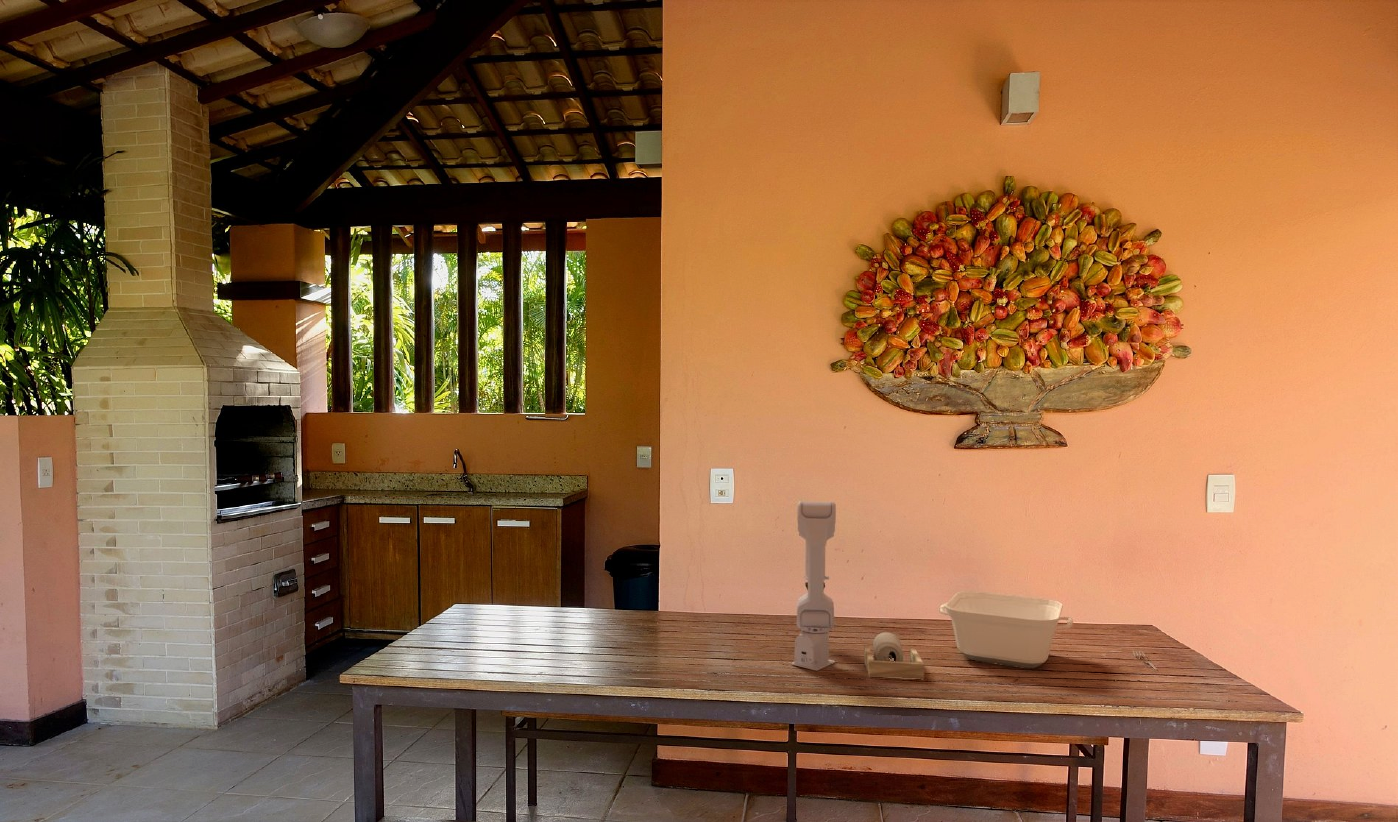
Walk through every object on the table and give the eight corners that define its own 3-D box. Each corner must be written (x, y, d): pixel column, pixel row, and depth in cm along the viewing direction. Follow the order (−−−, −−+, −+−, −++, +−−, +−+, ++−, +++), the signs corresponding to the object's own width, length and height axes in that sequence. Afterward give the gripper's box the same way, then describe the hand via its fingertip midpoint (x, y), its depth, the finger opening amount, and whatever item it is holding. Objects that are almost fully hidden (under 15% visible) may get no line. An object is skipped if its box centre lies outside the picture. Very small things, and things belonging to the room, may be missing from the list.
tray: (924, 680, 195) (924, 664, 195) (869, 677, 196) (869, 661, 196) (914, 663, 209) (914, 648, 209) (863, 661, 210) (864, 646, 210)
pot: (930, 662, 210) (930, 607, 210) (949, 637, 236) (949, 588, 236) (1070, 683, 194) (1070, 623, 195) (1074, 653, 220) (1075, 601, 220)
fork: (1163, 683, 196) (1163, 676, 196) (1130, 656, 219) (1130, 649, 219) (1177, 684, 195) (1177, 677, 195) (1143, 656, 219) (1143, 650, 219)
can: (903, 657, 212) (905, 671, 200) (875, 660, 213) (876, 673, 201) (898, 630, 212) (901, 642, 200) (870, 632, 214) (871, 644, 202)
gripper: (830, 565, 219) (830, 614, 219) (827, 557, 233) (827, 602, 233) (805, 565, 220) (804, 613, 219) (804, 556, 234) (803, 601, 234)
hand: (814, 607), depth 226 cm, fingers closed
